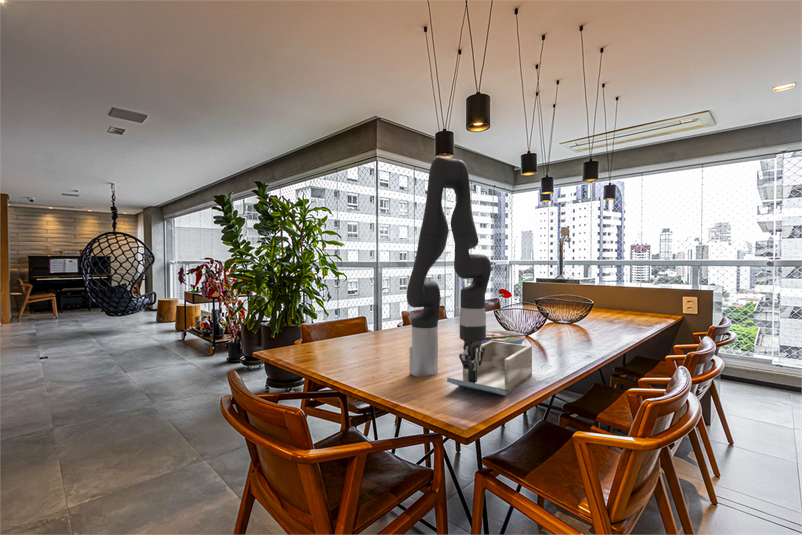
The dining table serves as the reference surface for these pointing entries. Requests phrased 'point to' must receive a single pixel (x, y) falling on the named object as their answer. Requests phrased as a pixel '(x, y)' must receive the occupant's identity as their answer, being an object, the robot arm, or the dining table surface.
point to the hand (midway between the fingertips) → (472, 382)
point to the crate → (504, 365)
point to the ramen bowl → (504, 336)
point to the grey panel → (477, 386)
